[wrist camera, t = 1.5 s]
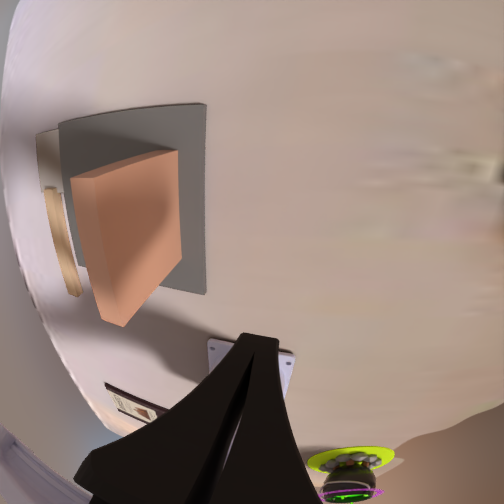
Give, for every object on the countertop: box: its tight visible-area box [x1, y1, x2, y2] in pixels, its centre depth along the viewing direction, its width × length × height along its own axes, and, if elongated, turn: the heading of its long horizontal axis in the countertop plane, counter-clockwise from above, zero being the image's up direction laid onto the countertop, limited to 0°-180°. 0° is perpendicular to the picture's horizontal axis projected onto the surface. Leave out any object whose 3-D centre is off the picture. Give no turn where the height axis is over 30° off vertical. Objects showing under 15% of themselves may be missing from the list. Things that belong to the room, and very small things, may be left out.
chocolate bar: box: [105, 383, 168, 424], centre depth 36 cm, size 9×1×18 cm
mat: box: [58, 104, 207, 295], centre depth 20 cm, size 14×14×1 cm
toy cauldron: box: [307, 446, 394, 504], centre depth 29 cm, size 15×15×11 cm
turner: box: [36, 129, 83, 297], centre depth 22 cm, size 18×4×1 cm, turn 177°
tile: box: [70, 150, 182, 327], centre depth 15 cm, size 8×2×8 cm, turn 177°
